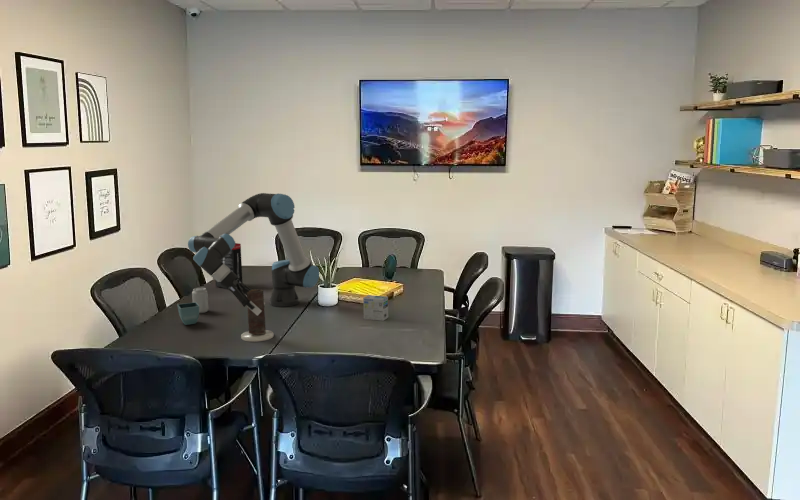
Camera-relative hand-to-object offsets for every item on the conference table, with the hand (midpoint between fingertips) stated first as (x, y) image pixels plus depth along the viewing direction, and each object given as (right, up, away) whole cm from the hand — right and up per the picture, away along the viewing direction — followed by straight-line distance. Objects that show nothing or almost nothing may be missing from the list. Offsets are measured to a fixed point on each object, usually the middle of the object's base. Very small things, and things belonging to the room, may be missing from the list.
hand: (261, 309), depth 286 cm
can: (-40, -5, +46) cm, 61 cm away
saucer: (-2, -12, +2) cm, 13 cm away
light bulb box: (+49, -7, +31) cm, 58 cm away
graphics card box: (-40, +3, +100) cm, 108 cm away
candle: (-2, -11, +1) cm, 12 cm away
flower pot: (-39, -9, +24) cm, 47 cm away
